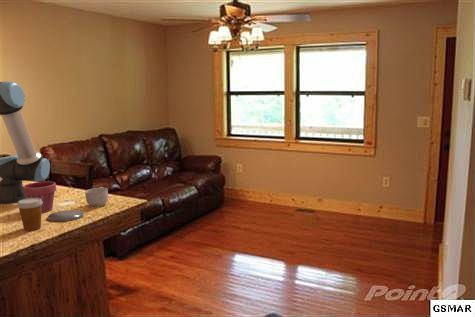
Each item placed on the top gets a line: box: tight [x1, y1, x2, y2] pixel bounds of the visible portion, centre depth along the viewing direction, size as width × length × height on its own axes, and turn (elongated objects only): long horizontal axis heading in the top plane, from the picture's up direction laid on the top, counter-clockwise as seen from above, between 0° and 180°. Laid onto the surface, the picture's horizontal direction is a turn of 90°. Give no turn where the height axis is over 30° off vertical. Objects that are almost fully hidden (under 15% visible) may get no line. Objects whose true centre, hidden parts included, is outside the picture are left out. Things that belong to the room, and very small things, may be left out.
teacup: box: [84, 186, 109, 208], centre depth 210 cm, size 14×11×8 cm
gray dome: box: [47, 209, 84, 223], centre depth 191 cm, size 15×15×1 cm
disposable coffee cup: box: [17, 198, 43, 232], centre depth 174 cm, size 10×10×12 cm
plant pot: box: [23, 181, 57, 214], centre depth 200 cm, size 14×14×13 cm
